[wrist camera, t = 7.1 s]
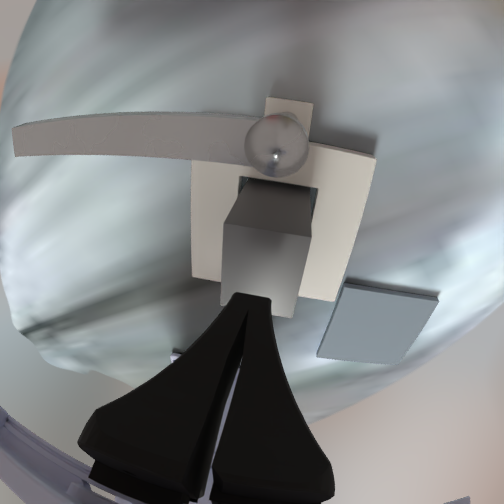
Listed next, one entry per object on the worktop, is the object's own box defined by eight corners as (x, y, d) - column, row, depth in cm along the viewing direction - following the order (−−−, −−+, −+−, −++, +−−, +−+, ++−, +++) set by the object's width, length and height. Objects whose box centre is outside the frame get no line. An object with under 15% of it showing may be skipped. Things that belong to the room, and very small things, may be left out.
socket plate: (333, 292, 20) (337, 359, 15) (196, 268, 21) (165, 327, 16) (380, 118, 14) (420, 138, 9) (200, 91, 14) (149, 99, 9)
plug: (296, 252, 19) (291, 318, 14) (242, 243, 19) (220, 305, 14) (309, 187, 17) (311, 237, 12) (248, 177, 17) (223, 223, 12)
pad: (397, 360, 23) (397, 364, 23) (316, 352, 24) (316, 357, 24) (437, 297, 19) (439, 301, 19) (343, 282, 20) (344, 287, 19)
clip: (312, 117, 9) (313, 121, 8) (303, 173, 10) (303, 182, 9) (25, 118, 10) (11, 123, 9) (28, 155, 11) (15, 161, 10)
